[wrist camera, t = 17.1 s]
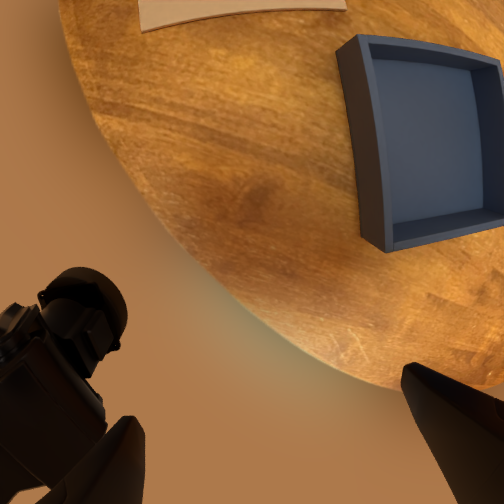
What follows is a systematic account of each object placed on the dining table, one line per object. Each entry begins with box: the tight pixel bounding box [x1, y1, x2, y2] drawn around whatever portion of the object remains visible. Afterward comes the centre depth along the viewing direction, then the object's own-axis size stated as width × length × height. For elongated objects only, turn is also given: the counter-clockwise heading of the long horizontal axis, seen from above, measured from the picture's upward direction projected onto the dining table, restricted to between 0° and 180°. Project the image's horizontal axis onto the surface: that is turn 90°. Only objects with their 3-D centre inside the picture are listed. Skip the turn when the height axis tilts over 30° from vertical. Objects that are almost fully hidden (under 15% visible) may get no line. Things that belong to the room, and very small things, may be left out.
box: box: [336, 34, 504, 253], centre depth 17 cm, size 13×13×4 cm
